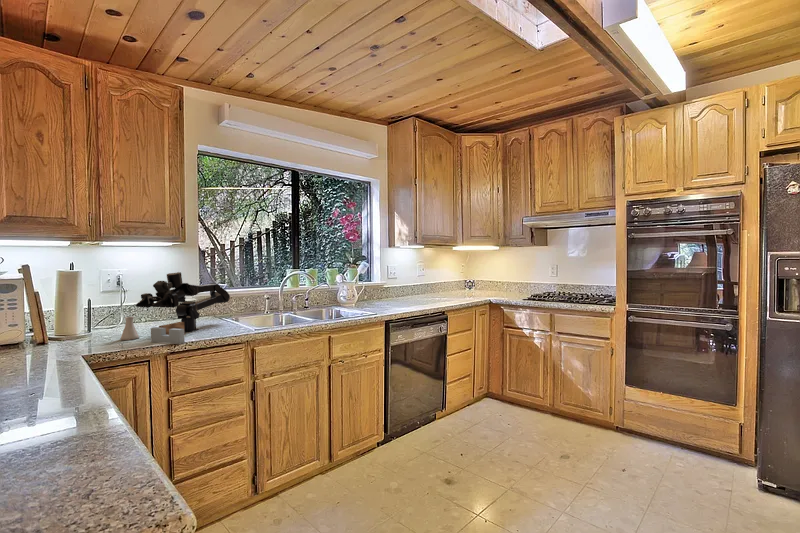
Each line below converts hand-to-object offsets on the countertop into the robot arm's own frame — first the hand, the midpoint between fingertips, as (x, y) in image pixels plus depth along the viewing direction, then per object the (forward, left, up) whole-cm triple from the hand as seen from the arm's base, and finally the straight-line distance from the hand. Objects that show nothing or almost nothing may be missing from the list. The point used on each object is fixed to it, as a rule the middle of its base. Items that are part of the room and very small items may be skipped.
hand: (144, 305), depth 183 cm
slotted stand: (-1, +11, -16) cm, 19 cm away
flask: (-2, -12, -16) cm, 20 cm away
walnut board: (-11, +3, -16) cm, 20 cm away
